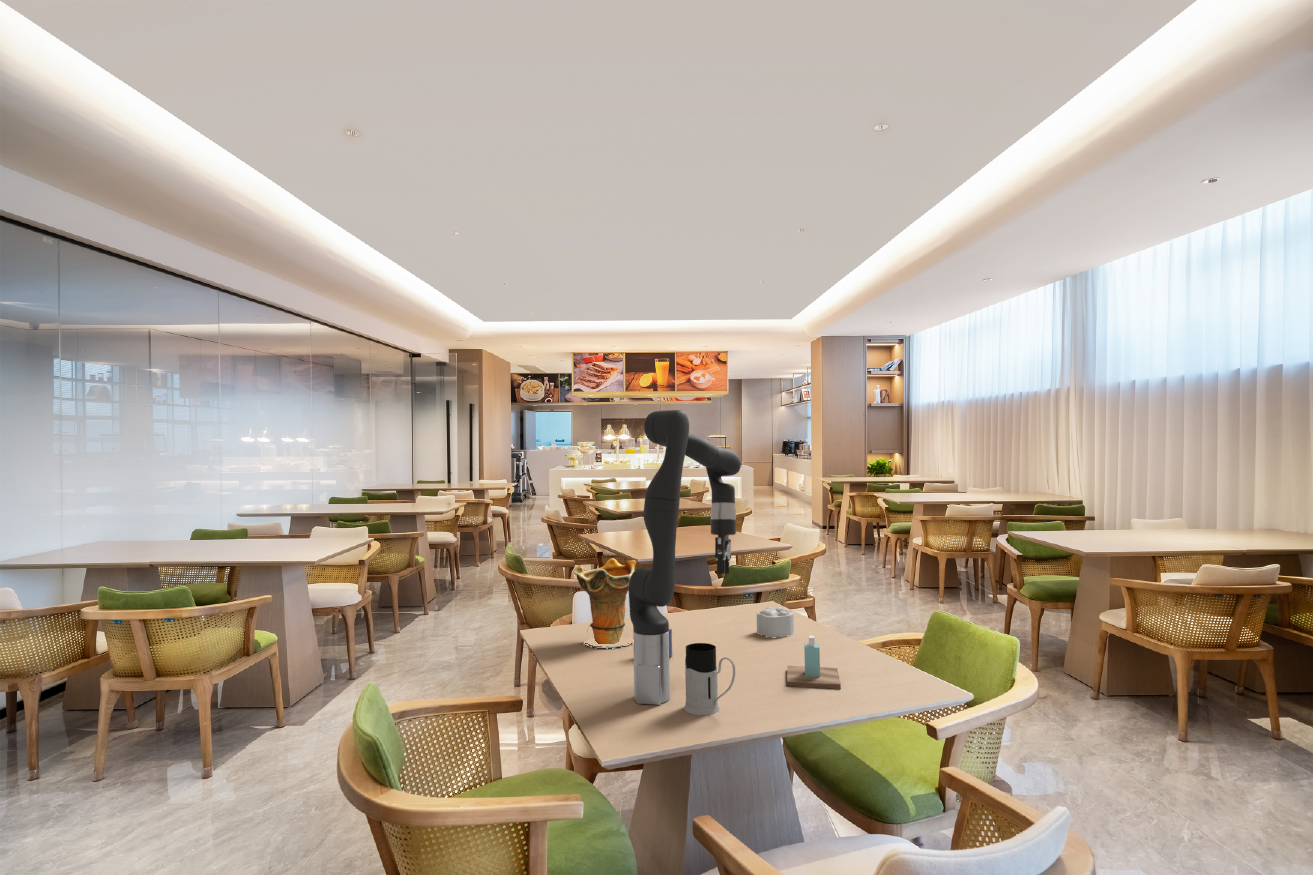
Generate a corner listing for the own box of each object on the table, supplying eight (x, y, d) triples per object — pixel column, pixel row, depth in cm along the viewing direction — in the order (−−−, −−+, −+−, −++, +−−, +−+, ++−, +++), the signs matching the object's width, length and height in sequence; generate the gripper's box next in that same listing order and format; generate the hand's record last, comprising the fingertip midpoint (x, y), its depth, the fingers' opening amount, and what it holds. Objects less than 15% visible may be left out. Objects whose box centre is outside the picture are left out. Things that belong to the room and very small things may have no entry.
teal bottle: (820, 677, 180) (819, 638, 181) (805, 676, 181) (804, 638, 181) (819, 672, 184) (818, 635, 185) (804, 671, 185) (803, 634, 185)
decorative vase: (561, 646, 217) (563, 561, 220) (599, 633, 238) (600, 555, 240) (615, 654, 208) (616, 564, 210) (649, 640, 228) (650, 559, 230)
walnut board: (840, 688, 174) (840, 684, 174) (787, 685, 177) (786, 681, 177) (837, 672, 188) (837, 667, 188) (787, 669, 191) (787, 665, 191)
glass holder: (697, 699, 168) (696, 640, 169) (745, 712, 159) (744, 649, 160) (676, 709, 161) (675, 648, 162) (725, 723, 152) (724, 658, 153)
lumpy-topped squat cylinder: (753, 632, 233) (752, 608, 234) (782, 627, 239) (781, 603, 240) (771, 639, 224) (770, 613, 224) (801, 634, 230) (800, 609, 230)
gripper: (732, 516, 189) (732, 574, 186) (739, 520, 203) (739, 573, 200) (706, 517, 191) (706, 573, 188) (715, 520, 205) (714, 573, 202)
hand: (723, 573), depth 194 cm, fingers open, 8 cm apart
